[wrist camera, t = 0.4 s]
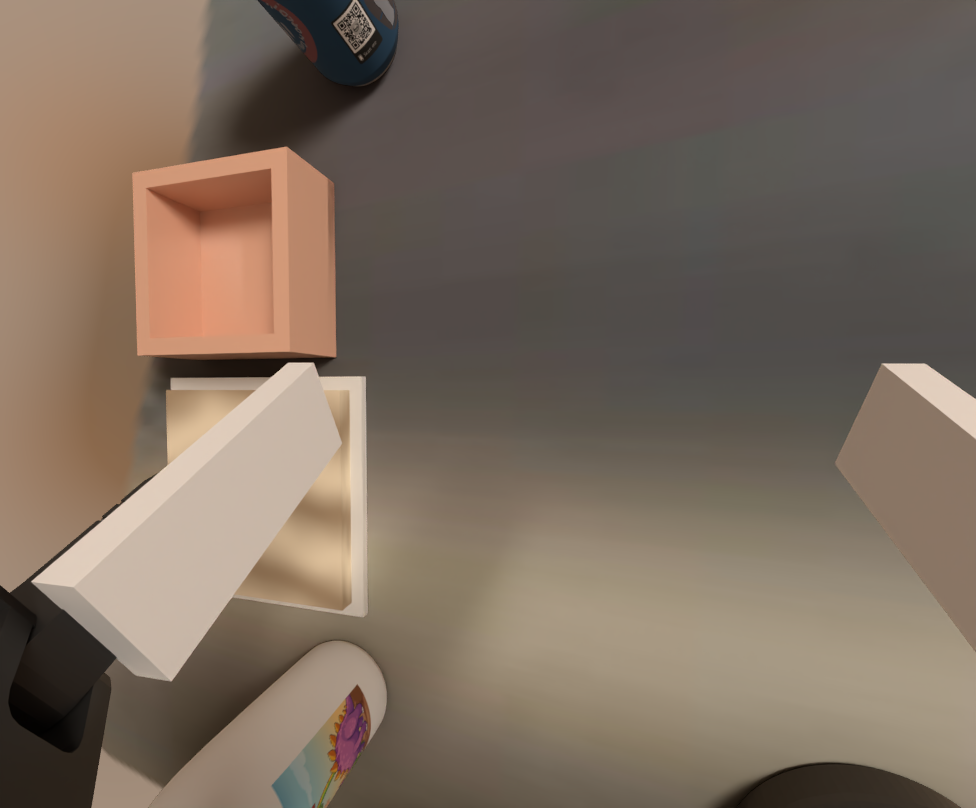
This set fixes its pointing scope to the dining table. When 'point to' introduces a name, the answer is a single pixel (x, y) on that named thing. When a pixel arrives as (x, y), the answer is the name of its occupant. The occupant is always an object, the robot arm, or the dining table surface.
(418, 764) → the dining table surface
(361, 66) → the soda can
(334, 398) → the lid
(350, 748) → the milk bottle
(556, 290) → the dining table surface
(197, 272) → the dish
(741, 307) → the dining table surface
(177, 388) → the mat
